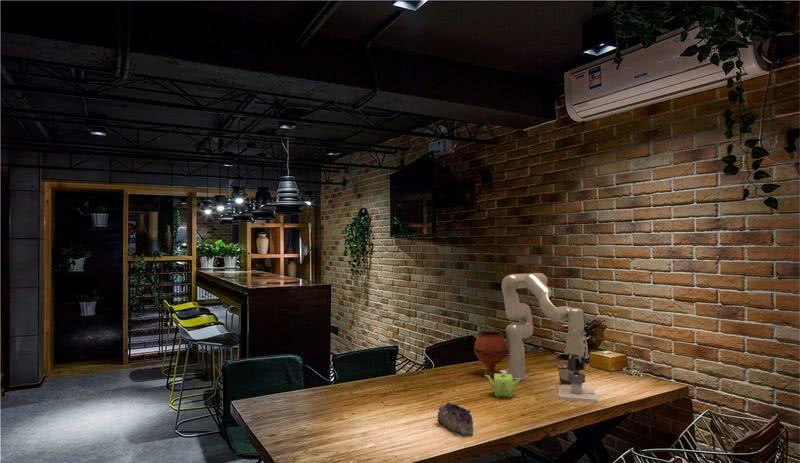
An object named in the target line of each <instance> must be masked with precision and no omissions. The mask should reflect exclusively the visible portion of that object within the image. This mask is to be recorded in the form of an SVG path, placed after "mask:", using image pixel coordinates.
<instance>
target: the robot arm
mask: <svg viewBox="0 0 800 463" xmlns="http://www.w3.org/2000/svg"><path fill="white" fill-rule="evenodd" d="M516 289H528V290H529V291H530V292H531V293H532V295H534V296H535V297H536V298H537V299H538V301H539V302H538V303H539V306H540V310H541V311H542V312H543V314H544V315H545V316H546V317H547V318H548V319H549V320H550V321H552V322H556V323H559V322H565V321H567V335H566V341H565V349H564V353H563V354H564V355H565V356H567V359H568V358H573V357H575V356H576V357H579V362H578V369H579V371H580V370H581V371H583V370H582V369H583V362H584V361H585V362H586V360H588V359H589V358H590V354H589V348H588V347H589V346H588V342H587V337H586V335H587V332H586V331H585V330H584V329H585V326H584V325H585V324H584V310H583V309H582V308H578V307H571V306H566V305H565V306H555V305H554V304H553V303H552V302H551V300H550V297H551V295H552V292H553V291H552V289H551V288H550V287H549V286H548V277H547V276H546V275H545V274H544V273H543V272H542V273H541V272H533V273H513V274H507V275H506V276H505V277H503V279H502V282H501V291H502V294H503V300H504V301H503V303H504V308H505V315H506V316H505V317H506V318H507V319H508V320H509V321H518V322H511V323H509V324H508V325H507V326H506V328H505V336H506V342H507V343H506V344H507V368H506V369H500V370H499V374H501V373H505V374H512V379H513V381H516V380H517V379H519V380H520V381H524V380H527V379H528V378H529V377H528V375H527V374H526V366H525V365H526V364H525V363H526V360H525V358H526V357H525V356H526V355H525V354H526V353H525V343H524V341H523V339H525V338H527V339H528V338H530V337H531V336H532V335H533V334H534V323H533V322H534V321H533V315H532V310H531V308H530V306H529V305H528V304H527V303H525V302H520V296H519V294H518V292H517V291H516Z"/></svg>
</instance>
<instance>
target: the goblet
mask: <svg viewBox="0 0 800 463" xmlns="http://www.w3.org/2000/svg"><path fill="white" fill-rule="evenodd" d="M473 352H474V355H475V356H476V358H477V359H478V360H479V361H480V362H481V363H483V364H485V367H486V369H485V370H484V372H483V375H484V376H485V375H489V376H490V377H494V373H495V374H499V372H498V371H497V369H495V368H496V365H498V364H499V363H501V362H502V361H503V360H504V359H505V357H506V355H507V354H508V345H507V343H506V340H505V339H504V336H503V332H502V331H499V330H498V331H497V330H478V332H477V336H476V339H475V341H474V346H473Z"/></svg>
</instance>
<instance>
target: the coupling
mask: <svg viewBox="0 0 800 463" xmlns="http://www.w3.org/2000/svg"><path fill="white" fill-rule="evenodd" d="M578 362H579V357H578V356H574V357H573V358H568V357H567V364H568V370H570V371H574V372H569V373H568V381H570V382H572V383H582V384H584V383H586V377H587V376H586V374H585V373H584V372H581V371H585V370H586V369H585V368H586V363H585V362H586V360H585V361H584V362H583V369H582V370H581V371H580V370H579V369H578Z"/></svg>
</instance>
